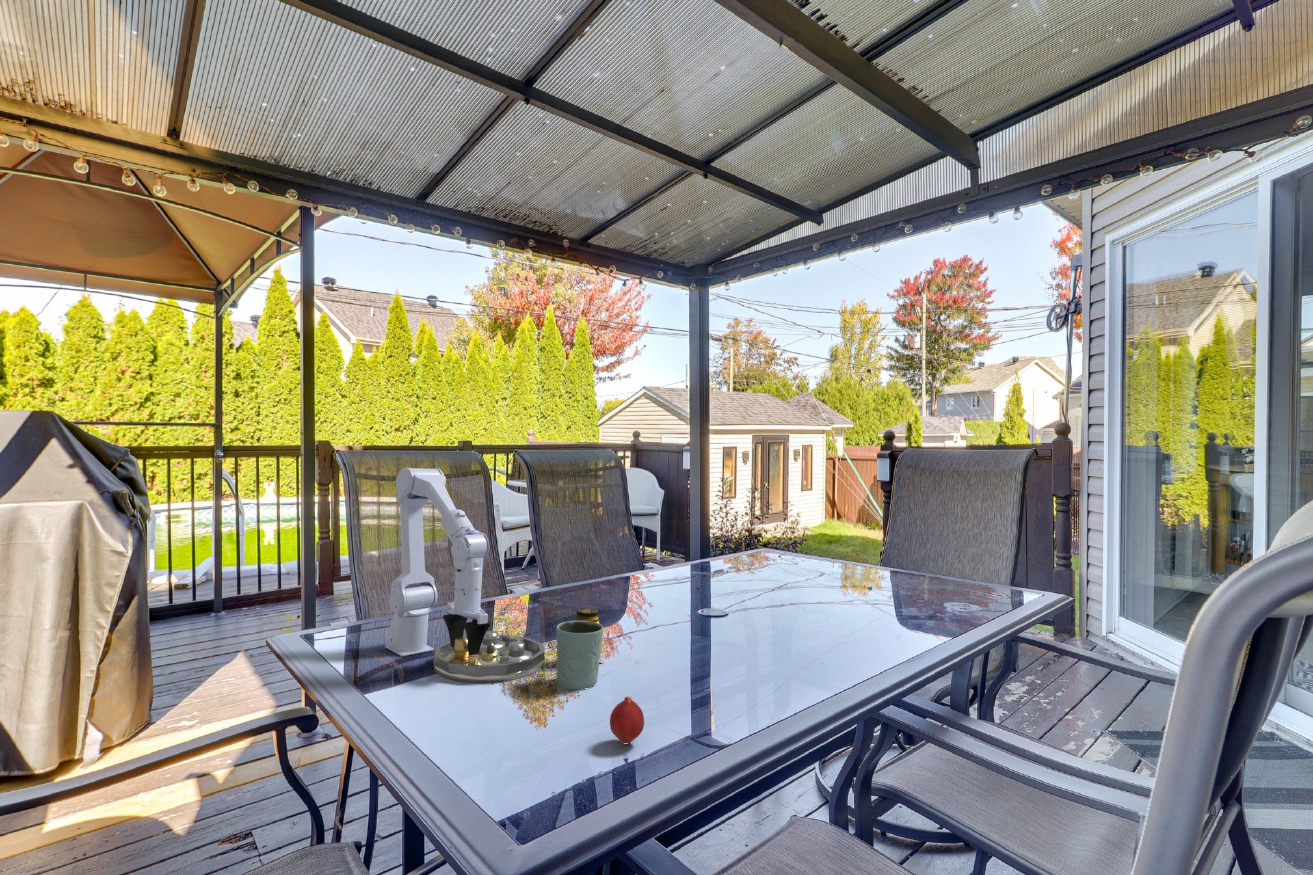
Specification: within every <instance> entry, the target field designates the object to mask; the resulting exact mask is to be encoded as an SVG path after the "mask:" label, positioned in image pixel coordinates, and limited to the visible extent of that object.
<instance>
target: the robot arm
mask: <svg viewBox="0 0 1313 875" xmlns="http://www.w3.org/2000/svg"><path fill="white" fill-rule="evenodd" d="M446 484H447V478H446V476H445V474H444V472H443V470H441V468H439V467H438V468H437V467H435V468H419V467H417V468H416V467H415V468H414V467H403V468H401V469H400V471H399V472H398V474H397V476H396V478H395V491H396V493H395V495H396V502H397V503H398V504H399V518H400V519H399V521H400V522H399V524H400V544H401V571H402V572H401V574H400V575H399V576H398V577H396V578H395V579H394V580H393V581H392V582H391V588H390V589H391V590H390V594H389V600H388V603H389V606H390V609H391V611H392V612H393V616H392V618H391V619H390V626H389V642H388V644H386V645H385V648H386V649H387V650H390V651H391V652H392V653H395V654H396V655H399V656H400V657H406V656H411V655H417V654H421V653H422V654H423V653H427V652H432V651H434V648H433V647H431V646H430V645H428V643H427V642H428V630H429V629H428V628H429V613H432V610H433V608H434V607H435V606H436V604H437V601H438V590H437V588H436V585H435V584H436V583H435V577H433V576H432V575H431V574H429V573H428V572H427V571H426V563H425V562H426V561H425V559H426V558H425V541H424V539H425V537H424V519H423V518H424V517H423V515H424V514H423V508H424V506H425V505H426V503H429V502H430V503H431V504H432V505H433V506H434V508H435V510H436V511H437V512H438V513H439V515H440V517H441V520H440V525H441V528H442V529H443V530H444V533H445V534H446V536H447V538H448V539H449V540H450V542H451V544H452V546H451V548H450V550H451V555H452V559H453V567H454V568H455V577H454V578H455V580H454V595H453V597H454V598H453V602H447V605H446V612H448V614H444V615H442V619H443V620H444V621H443V622H445V625H446V628H447V631H448V636H449V641H450V642H451V647H455V639H456V638H458V637H464V632H465V634H466V637H467V646H468V654H469V655H476V654H478V653H479V650H480V647H481V644H482V641H483V638H484V635H485V633H486V631H489V628H490V627H491V621H489V614H488V613H486V612H485V611H484V609H483V608H482V607H481V602H482V587H483V570H484V569H483V568H484V559H485V558H486V557H487V556H488V555H489V552H490V541H489V539H488V537H487V534H485V533H484V532H480V531H479V530H476V529H475V527H474V526H473V523H471V521H470V520H469V518H468V516H467V515H466V512H465V511H464V510H463V509H457V508H456V506H455V504H454V502H453V500H452V498H451V496H450V494H449V492H448V490H447V489H446ZM413 584H415V585H413ZM468 619H469V620H471V621H468ZM467 621H468V622H467Z"/></svg>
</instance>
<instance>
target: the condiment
mask: <svg viewBox="0 0 1313 875" xmlns="http://www.w3.org/2000/svg"><path fill="white" fill-rule="evenodd" d="M575 621H590V622H595V623H599V624H600V621H599V611H598V610H597V609H595V608H586V607H585V608H580V609H577V611H576V616H575Z"/></svg>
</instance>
